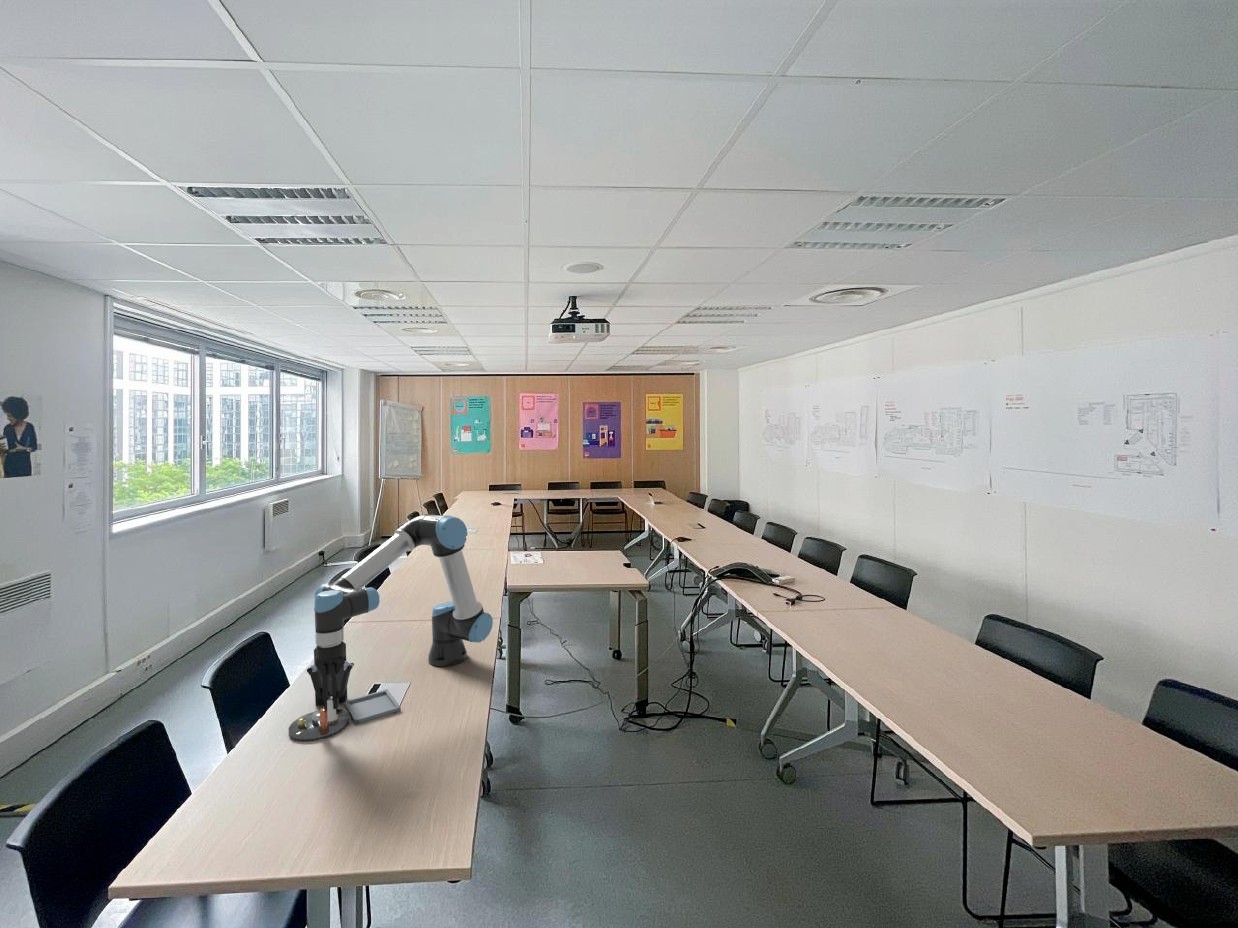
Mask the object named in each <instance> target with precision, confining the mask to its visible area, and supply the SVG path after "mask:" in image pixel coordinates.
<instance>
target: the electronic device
mask: <svg viewBox="0 0 1238 928" xmlns="http://www.w3.org/2000/svg"><path fill="white" fill-rule="evenodd" d="M344 657H345V658H346V659H347V643H346V642H344ZM315 661H316V647H314V649H313V665H314V664H315ZM317 671H318V674H319V677H320V681H321V684H322V687H323V678H322V673H321V672H320V671H319V669H318V668H317ZM344 672H345V670H344V665H343V666H342V668H341V669H340V670H339V691H340V687H341V683H342V678H343V674H344ZM330 694H331V695H330V696H332V678H331V674H330ZM314 697H315V698H314V699H315V700H314V701H315V707H316V708H324V700H323V699H322V698H319V699H318V698H317V696H316V693H315V692H314ZM346 700H348V687H347V688H346V692H345V694H344V695H343V696H342V697H339V706H341V705H344V701H346Z"/></svg>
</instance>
